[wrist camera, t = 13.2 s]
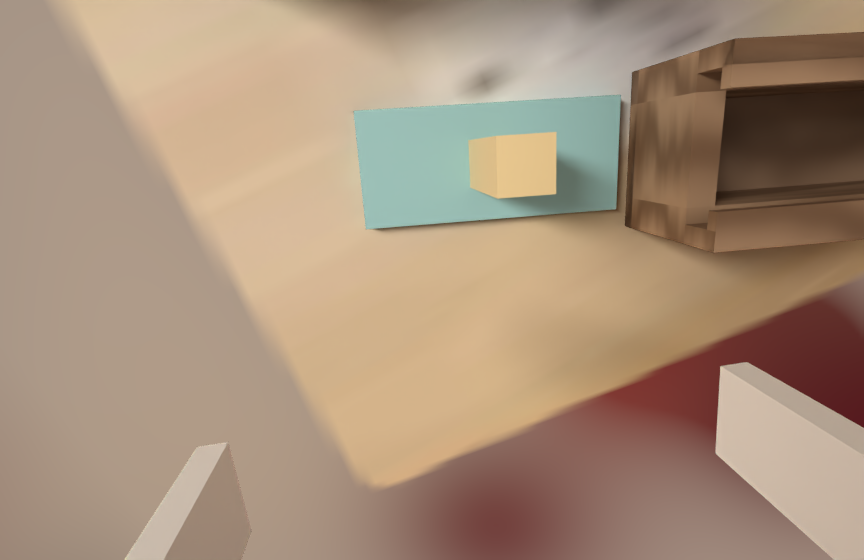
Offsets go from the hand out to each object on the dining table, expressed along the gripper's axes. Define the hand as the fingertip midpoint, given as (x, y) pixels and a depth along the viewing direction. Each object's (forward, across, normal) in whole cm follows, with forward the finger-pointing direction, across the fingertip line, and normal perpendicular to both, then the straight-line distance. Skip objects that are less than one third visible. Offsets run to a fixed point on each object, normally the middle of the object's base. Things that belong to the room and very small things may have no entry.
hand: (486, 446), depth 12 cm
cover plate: (+27, +6, +6) cm, 29 cm away
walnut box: (+27, +29, +5) cm, 40 cm away
